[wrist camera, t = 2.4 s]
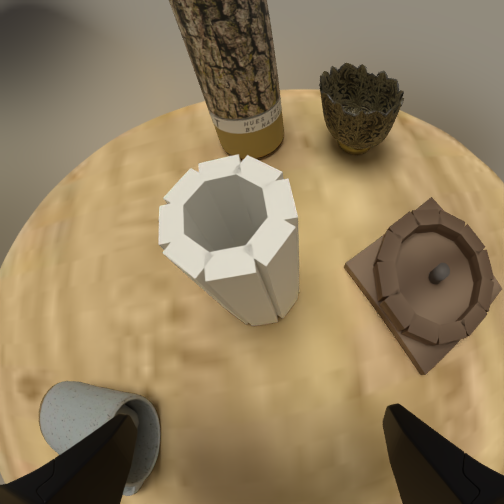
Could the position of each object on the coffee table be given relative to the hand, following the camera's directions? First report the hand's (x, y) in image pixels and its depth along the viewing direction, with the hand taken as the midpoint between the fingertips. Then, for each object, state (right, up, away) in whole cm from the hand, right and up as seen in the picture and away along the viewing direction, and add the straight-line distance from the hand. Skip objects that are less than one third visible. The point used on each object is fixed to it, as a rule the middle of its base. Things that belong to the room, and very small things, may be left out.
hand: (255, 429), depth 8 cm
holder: (+15, +3, +13) cm, 20 cm away
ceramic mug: (-11, -11, +12) cm, 19 cm away
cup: (+10, +17, +19) cm, 28 cm away
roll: (+1, +3, +15) cm, 15 cm away
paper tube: (0, +18, +21) cm, 28 cm away
